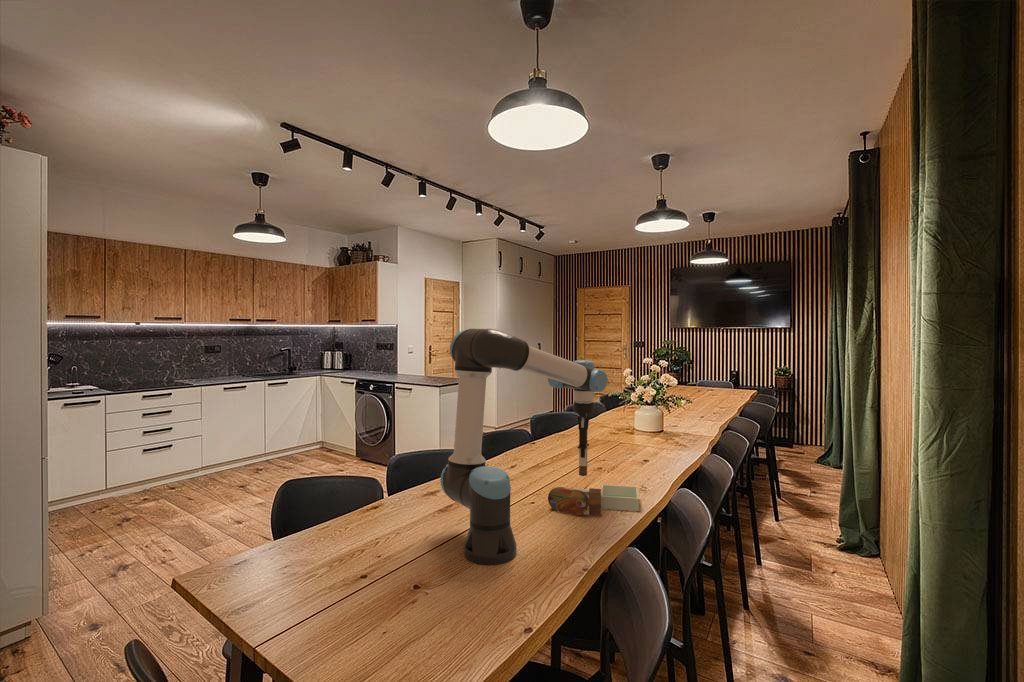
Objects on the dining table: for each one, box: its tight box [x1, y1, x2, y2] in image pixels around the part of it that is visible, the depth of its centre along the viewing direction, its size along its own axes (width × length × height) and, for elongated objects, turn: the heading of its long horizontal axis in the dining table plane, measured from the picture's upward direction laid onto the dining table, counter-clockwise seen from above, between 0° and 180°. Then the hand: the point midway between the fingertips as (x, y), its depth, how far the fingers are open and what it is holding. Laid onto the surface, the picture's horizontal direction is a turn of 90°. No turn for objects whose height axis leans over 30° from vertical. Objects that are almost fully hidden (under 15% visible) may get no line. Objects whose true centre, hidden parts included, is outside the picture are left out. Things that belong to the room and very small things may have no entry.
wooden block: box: [588, 487, 602, 517], centre depth 167 cm, size 4×4×8 cm
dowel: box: [578, 442, 588, 477], centre depth 178 cm, size 3×3×12 cm
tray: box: [600, 484, 640, 512], centre depth 176 cm, size 13×13×5 cm
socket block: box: [575, 488, 589, 499], centre depth 179 cm, size 9×9×3 cm
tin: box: [547, 486, 589, 516], centre depth 168 cm, size 15×3×8 cm, turn 58°
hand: (583, 464), depth 178 cm, fingers closed on dowel, 2 cm apart
